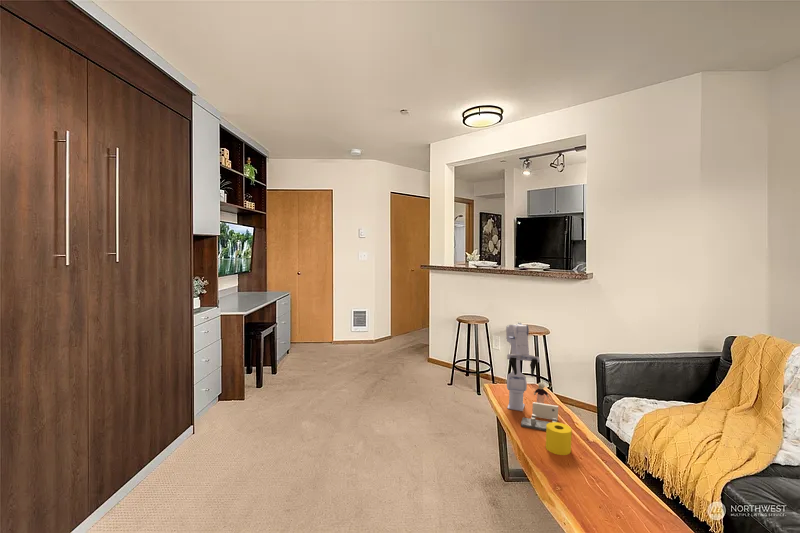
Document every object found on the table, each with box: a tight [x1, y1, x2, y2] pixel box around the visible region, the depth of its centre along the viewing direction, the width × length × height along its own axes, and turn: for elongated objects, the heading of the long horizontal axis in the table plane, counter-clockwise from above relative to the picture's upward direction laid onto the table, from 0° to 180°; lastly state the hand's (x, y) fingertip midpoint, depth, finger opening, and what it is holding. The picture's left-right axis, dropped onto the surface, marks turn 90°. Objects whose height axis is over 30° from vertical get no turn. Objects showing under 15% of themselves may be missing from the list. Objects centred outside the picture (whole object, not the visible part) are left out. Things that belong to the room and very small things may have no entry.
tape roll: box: [545, 421, 573, 456], centre depth 171 cm, size 10×10×9 cm
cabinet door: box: [531, 401, 559, 422], centre depth 201 cm, size 2×12×7 cm, turn 67°
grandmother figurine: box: [533, 382, 549, 404], centre depth 216 cm, size 8×4×13 cm, turn 68°
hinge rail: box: [520, 414, 558, 432], centre depth 191 cm, size 8×20×4 cm, turn 67°
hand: (524, 374), depth 185 cm, fingers open, 7 cm apart
